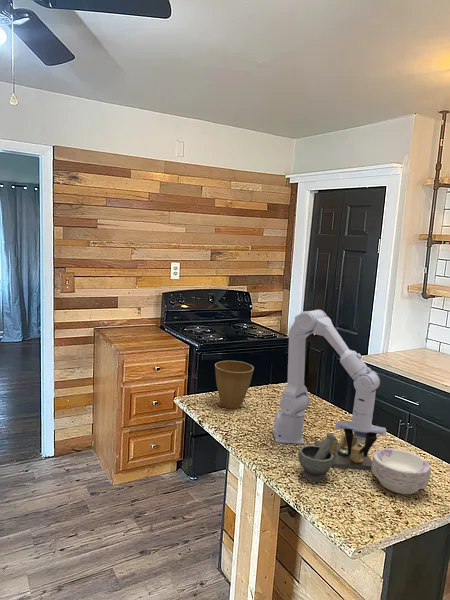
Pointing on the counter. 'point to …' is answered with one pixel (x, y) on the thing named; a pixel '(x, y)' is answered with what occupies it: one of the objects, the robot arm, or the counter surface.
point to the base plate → (347, 459)
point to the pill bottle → (360, 436)
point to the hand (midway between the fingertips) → (357, 454)
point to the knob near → (357, 453)
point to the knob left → (334, 445)
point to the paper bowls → (400, 470)
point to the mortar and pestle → (317, 459)
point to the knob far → (344, 441)
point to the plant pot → (233, 382)
